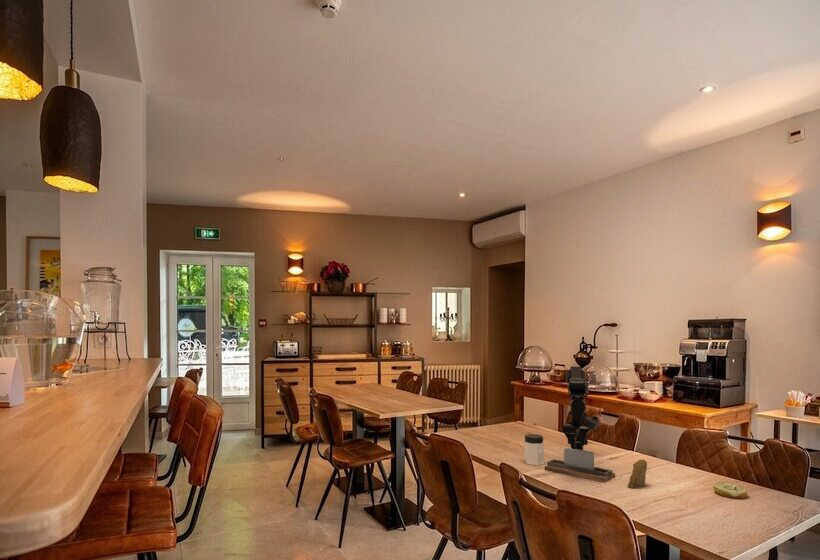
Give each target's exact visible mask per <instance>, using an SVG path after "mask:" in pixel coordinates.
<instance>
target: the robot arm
mask: <svg viewBox="0 0 820 560" xmlns="http://www.w3.org/2000/svg"><path fill="white" fill-rule="evenodd" d="M565 373H566V383H567V397H568V398H570V405H569V406H570V411H568V415H570V421H569V422H568V423H566V424H564V425H562V426H561V432H562V433H563V434H564V435H565V437H566V439H567V444H568V445H570V448H572V449H578V450H584V446H587V445H588V444H589V443H588V442H589V439H588V438H589V436H588V434H589V433H590V432H591V431H595V430H597V429H598V427H599V425H600V424H601V423H600V420H599V419H600V418H599V417H598V416H596V415H594V416H593V417H591V416H588V413H587V411H586V403H585V398H588V396H589V385H588V384H587V382H586V371H584V370H583V369H582V367H581V366H570V367H569V369H568V370H566V371H565Z"/></svg>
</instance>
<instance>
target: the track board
mask: <svg viewBox="0 0 820 560" xmlns="http://www.w3.org/2000/svg"><path fill="white" fill-rule="evenodd" d="M546 470H549V471H548V472H551V471H552V473H556V474H560V475H565V476H566V475H567V476H570V475H571V477H576V478H580V479H584V480H590V481H594V482H599V483H603V482H604V483H606V482H609V481H610V480H612V479H614V478H616V472H613V470H611V469H607V468H602V467H597V466H594V470H589V469H584V468H579V467H574V466H569V465H564V460H560V459H554V458H553V459H551V460H549V461H546V465H545V466H544V471H546ZM613 477H614V478H613Z"/></svg>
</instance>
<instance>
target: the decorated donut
mask: <svg viewBox="0 0 820 560" xmlns="http://www.w3.org/2000/svg"><path fill="white" fill-rule="evenodd" d="M712 488H713V490H714V492H715V493H716V494H717V495H719V496H721V497H724V498H729V499H730V498H732V499H736V500H737V499H741V500H742V499H746V498H747V496H748V494H747V493H748V489H747V488H746V487H744V486H743V485H741V484H737V483H734V482H730V481H717V482H715V483H712Z"/></svg>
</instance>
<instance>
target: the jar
mask: <svg viewBox="0 0 820 560" xmlns="http://www.w3.org/2000/svg"><path fill="white" fill-rule="evenodd" d="M523 455H524V456H523V457H524V458H523V459H524V460H523V461H524V463H525V464H527V465H529V464H530V466H531V465H532V466H541V465H544V464H545V443H544V437H543V435H542V434H539V433H538V434H537V433H536V434H535V433H529V434H525V435H524V441H523Z"/></svg>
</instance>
